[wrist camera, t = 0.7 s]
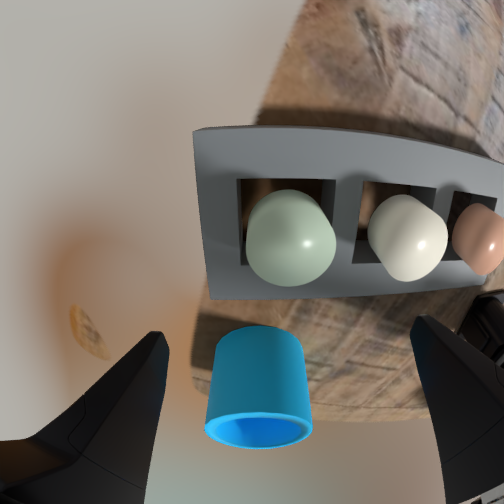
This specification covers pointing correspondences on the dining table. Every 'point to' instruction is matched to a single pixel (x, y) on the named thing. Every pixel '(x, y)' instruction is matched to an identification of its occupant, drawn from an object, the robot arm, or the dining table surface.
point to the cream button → (407, 237)
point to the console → (331, 202)
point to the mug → (258, 390)
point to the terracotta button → (479, 238)
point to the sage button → (289, 239)
